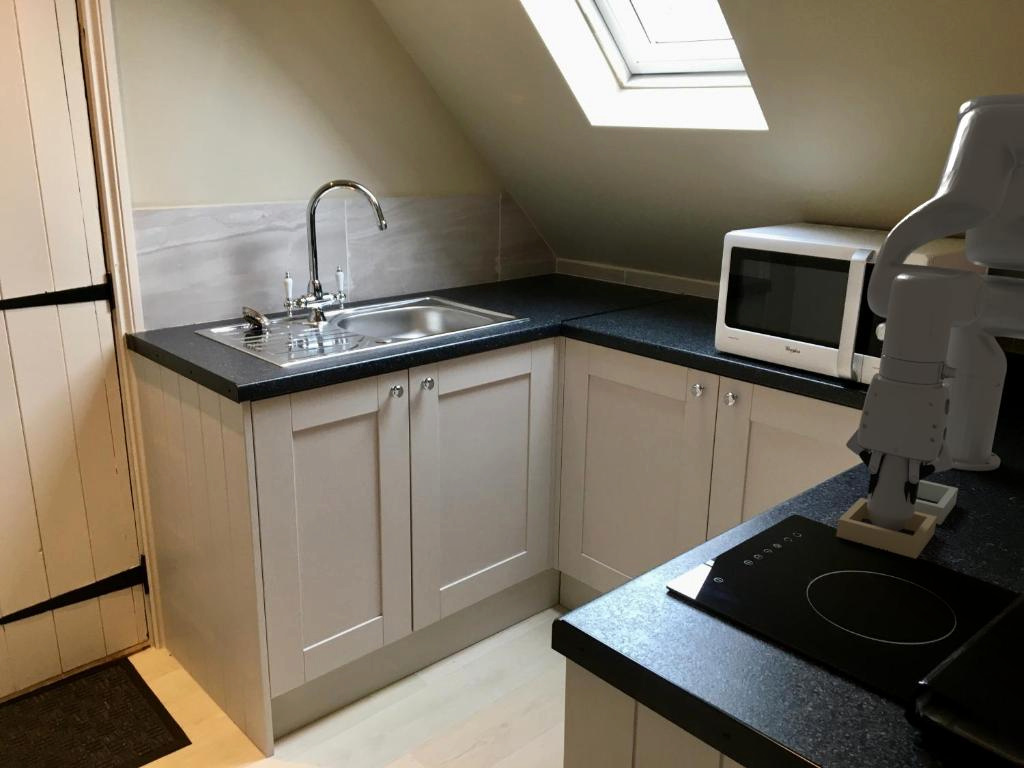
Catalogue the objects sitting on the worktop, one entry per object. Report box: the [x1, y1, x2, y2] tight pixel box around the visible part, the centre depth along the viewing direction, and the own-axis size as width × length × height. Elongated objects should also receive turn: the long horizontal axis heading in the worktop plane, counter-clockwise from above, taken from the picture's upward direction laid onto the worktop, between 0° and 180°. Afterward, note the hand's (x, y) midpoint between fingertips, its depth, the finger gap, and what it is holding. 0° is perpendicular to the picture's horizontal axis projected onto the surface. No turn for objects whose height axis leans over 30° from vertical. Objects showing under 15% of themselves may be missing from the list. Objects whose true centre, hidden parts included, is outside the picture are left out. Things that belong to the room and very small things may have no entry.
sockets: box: [836, 479, 959, 559], centre depth 120 cm, size 24×10×2 cm, turn 142°
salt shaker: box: [867, 446, 915, 532], centre depth 113 cm, size 6×6×13 cm
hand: (890, 502), depth 114 cm, fingers closed on salt shaker, 3 cm apart
